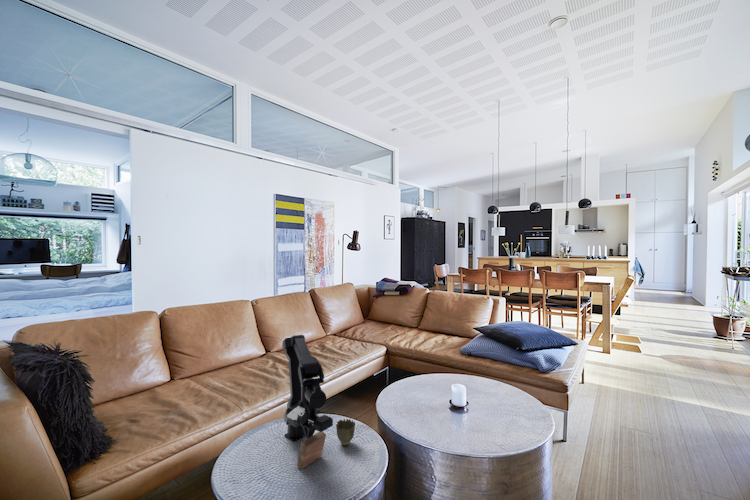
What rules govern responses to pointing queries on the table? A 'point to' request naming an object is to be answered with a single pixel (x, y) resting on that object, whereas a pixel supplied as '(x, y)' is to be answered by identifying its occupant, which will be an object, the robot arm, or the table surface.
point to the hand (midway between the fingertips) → (308, 440)
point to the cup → (345, 431)
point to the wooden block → (311, 449)
